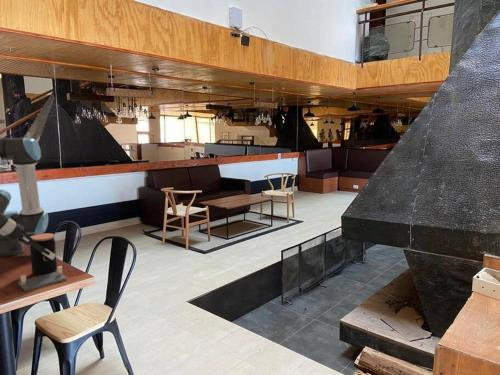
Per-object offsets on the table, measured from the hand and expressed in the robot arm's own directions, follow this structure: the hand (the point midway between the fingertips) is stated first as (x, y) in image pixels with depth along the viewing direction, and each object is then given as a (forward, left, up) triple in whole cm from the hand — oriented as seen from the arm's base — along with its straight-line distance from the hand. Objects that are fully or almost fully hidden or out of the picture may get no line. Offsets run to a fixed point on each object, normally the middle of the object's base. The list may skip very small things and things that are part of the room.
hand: (50, 254), depth 179 cm
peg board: (+15, +1, -8) cm, 17 cm away
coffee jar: (+2, -2, -8) cm, 9 cm away
